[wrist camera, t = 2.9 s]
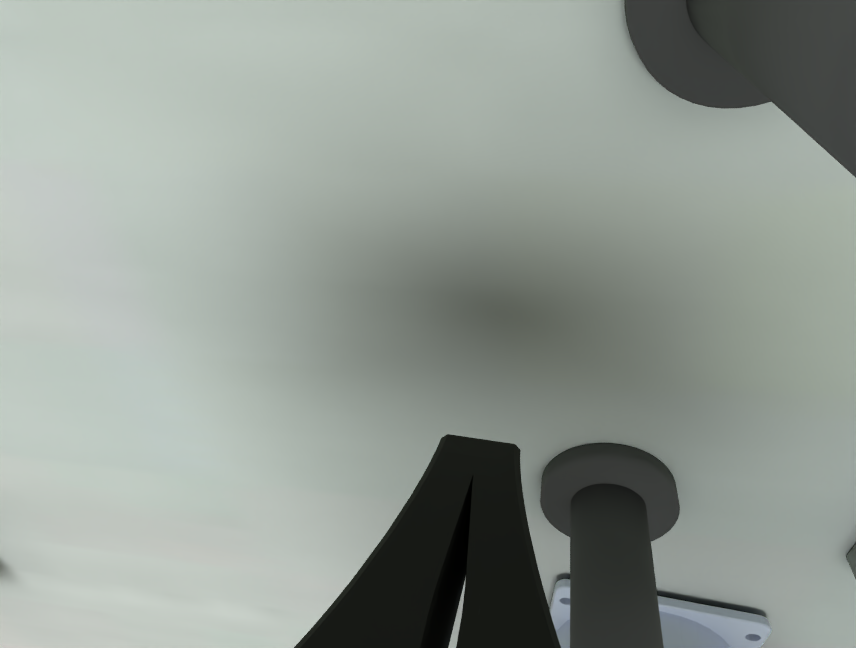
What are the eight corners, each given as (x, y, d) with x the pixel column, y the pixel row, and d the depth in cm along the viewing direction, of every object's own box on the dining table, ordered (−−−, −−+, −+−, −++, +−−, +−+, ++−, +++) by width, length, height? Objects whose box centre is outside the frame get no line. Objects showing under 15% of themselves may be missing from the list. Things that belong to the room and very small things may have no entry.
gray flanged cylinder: (658, 537, 20) (698, 821, 14) (535, 515, 21) (518, 775, 14) (691, 454, 18) (758, 758, 11) (549, 434, 18) (536, 707, 12)
